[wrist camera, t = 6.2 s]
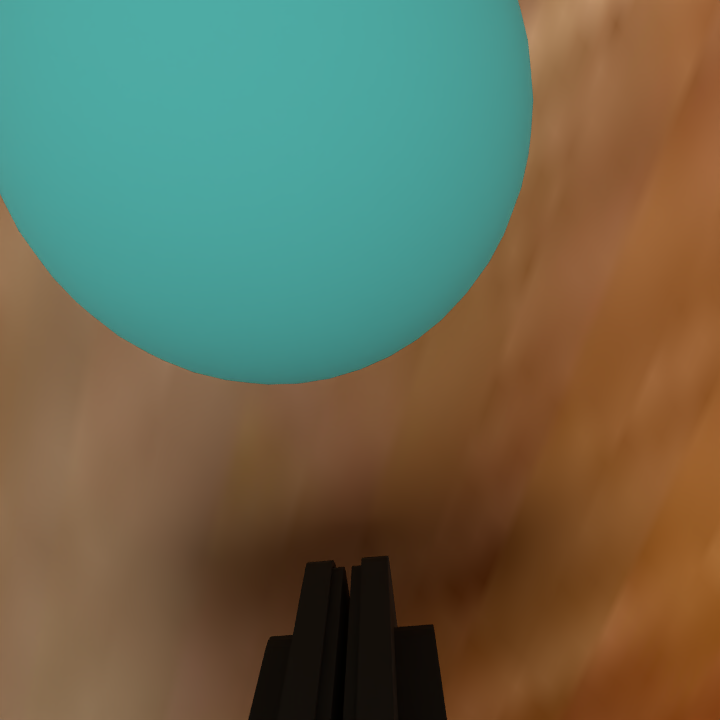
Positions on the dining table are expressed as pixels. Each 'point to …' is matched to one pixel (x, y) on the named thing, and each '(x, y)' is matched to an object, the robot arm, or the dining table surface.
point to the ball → (264, 169)
